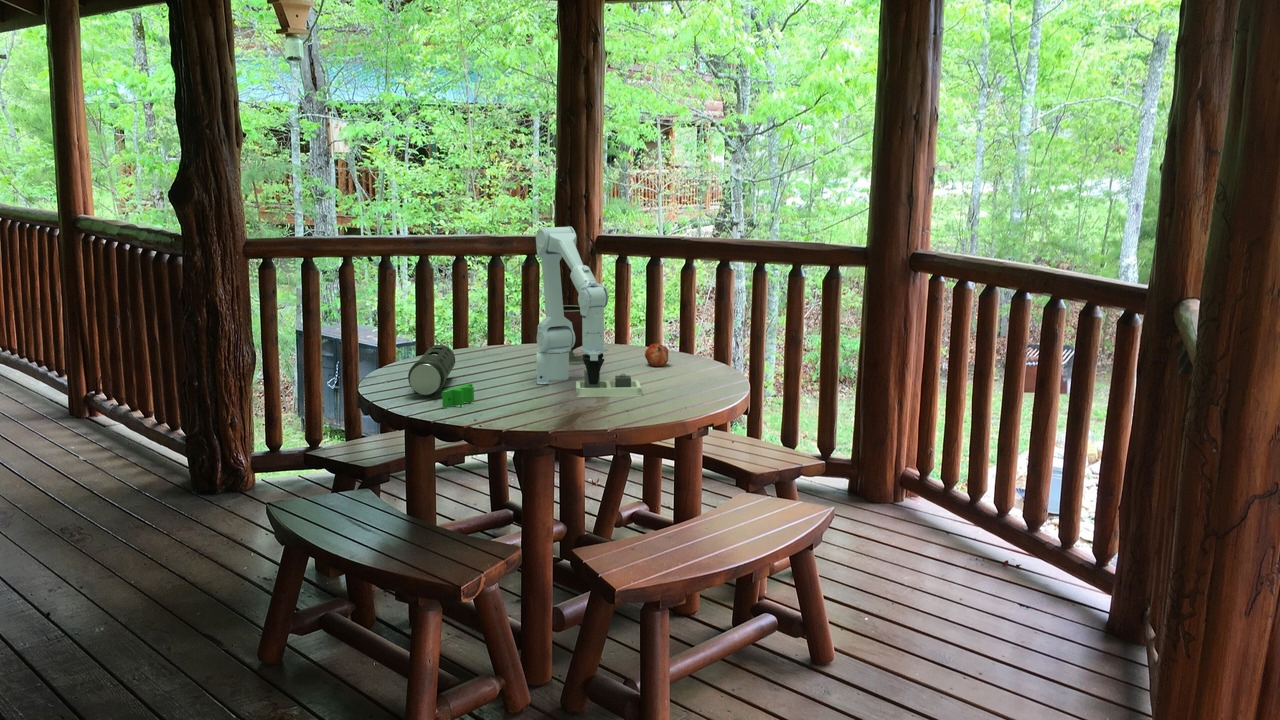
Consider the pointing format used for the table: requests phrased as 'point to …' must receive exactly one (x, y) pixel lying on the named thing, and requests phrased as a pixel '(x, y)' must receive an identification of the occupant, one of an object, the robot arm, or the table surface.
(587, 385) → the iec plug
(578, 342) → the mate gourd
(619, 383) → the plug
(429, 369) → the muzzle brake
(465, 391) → the pipe clamp
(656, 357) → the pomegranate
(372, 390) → the table surface
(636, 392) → the pale green compartment tray
